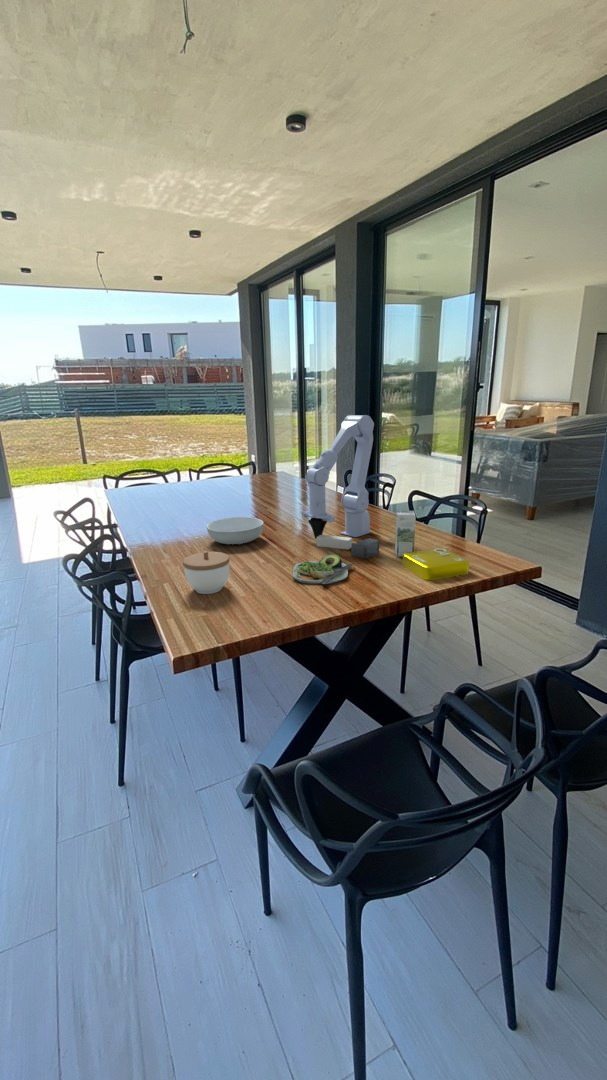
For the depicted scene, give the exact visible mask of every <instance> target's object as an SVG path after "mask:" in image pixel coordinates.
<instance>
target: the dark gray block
mask: <svg viewBox="0 0 607 1080" xmlns="http://www.w3.org/2000/svg"><path fill="white" fill-rule="evenodd" d="M350 549H351V552H350V553H351V556H354V557H358V558H361V559H366V560H367V559H368V558H372V557H375V556H376V555H379V554H380V540H379V539H374V538H371V537H370V538H364V539H363V540H360V541H358V542H356V543H354V542H352V543H351V548H350Z"/></svg>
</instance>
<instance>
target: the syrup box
mask: <svg viewBox="0 0 607 1080" xmlns="http://www.w3.org/2000/svg"><path fill="white" fill-rule="evenodd" d="M416 515H417V514H415V511H414V510H396V513H395V536H394V537H395V538H394V539H395V542H394V543H395V546H394V552H395V556H396V557H397V558H403V554H404V553H409V552H415V543H416V542H415V540H416V539H415V537H416V520H417V518H416Z"/></svg>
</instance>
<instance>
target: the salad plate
mask: <svg viewBox="0 0 607 1080" xmlns="http://www.w3.org/2000/svg"><path fill="white" fill-rule="evenodd" d="M352 566H353V563H344V562H342V559H341V557H340V556H339V555H337V554H327V555H324V556H323V557H322V558H321V559H320V560H319V561H308V560H306V561H301V562H298V563H296V564H295V565H294V566H293V568H292V578H293V579H294V580H296V581H298V582H299V583H302V584H306V585H328V584H329V585H330V584H334V583H338V582H341V581H343V580H346V579H347V577H348V576H349V575H348V574H349V571H348V570H349V569H350V568H352ZM301 575H302V576H303V575H305V576H310V577H312V579H306V578H305V579H304V578H303V577H302V576H301Z"/></svg>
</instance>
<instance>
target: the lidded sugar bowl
mask: <svg viewBox="0 0 607 1080" xmlns="http://www.w3.org/2000/svg"><path fill="white" fill-rule="evenodd" d="M182 565H183V570H184V571H183V572H184V574H185V580H186V581H187V584H188V585H189V586H190V587H191V588H192V589H193V590H195V592H196V593H197V594H202V595H211V594H216V593H219V592H220V591H222V589H223V587H224V586H225V585H226V583H228V580H229V576H230V556H229V555H228V554H227V553H224V552H221V551H207V550H205V551H201V552H196V553H192V554H190V555H188V556H186V557H184V558H183V560H182Z"/></svg>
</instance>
